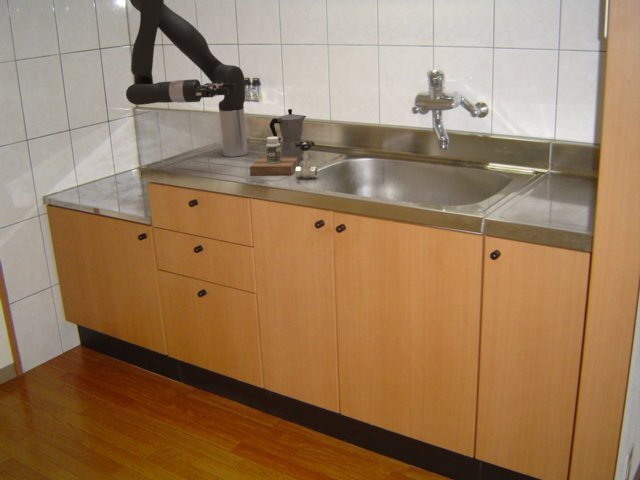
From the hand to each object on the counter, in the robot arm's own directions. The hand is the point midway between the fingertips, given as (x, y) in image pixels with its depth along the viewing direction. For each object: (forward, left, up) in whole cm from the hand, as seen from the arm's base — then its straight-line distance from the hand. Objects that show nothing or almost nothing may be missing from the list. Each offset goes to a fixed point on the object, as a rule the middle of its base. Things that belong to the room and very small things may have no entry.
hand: (231, 88), depth 245 cm
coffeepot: (-17, +15, -28) cm, 36 cm away
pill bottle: (0, +13, -25) cm, 28 cm away
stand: (0, +13, -28) cm, 31 cm away
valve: (+11, +26, -28) cm, 40 cm away
